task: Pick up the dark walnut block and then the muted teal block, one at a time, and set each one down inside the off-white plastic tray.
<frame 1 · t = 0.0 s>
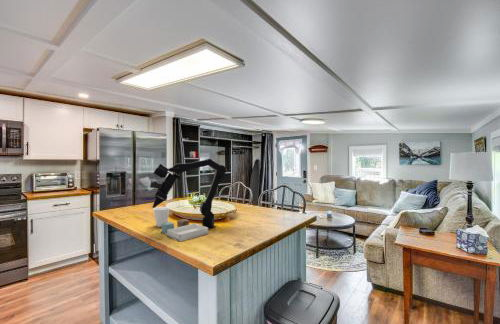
hand: (153, 206, 144), 15 cm above the worktop, tool tilted 35°, fingers open, 9 cm apart
cup: (161, 226, 157), on the worktop
tray: (187, 234, 139), on the worktop
teal block: (167, 232, 144), on the worktop
walnut block: (183, 228, 151), on the worktop
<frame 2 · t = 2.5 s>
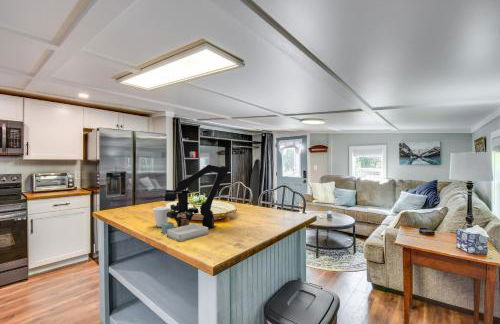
hand: (183, 226, 151), 1 cm above the worktop, tool pointing down, fingers closed on walnut block, 5 cm apart
walnut block: (183, 228, 151), on the worktop, touching gripper
everything else where it was.
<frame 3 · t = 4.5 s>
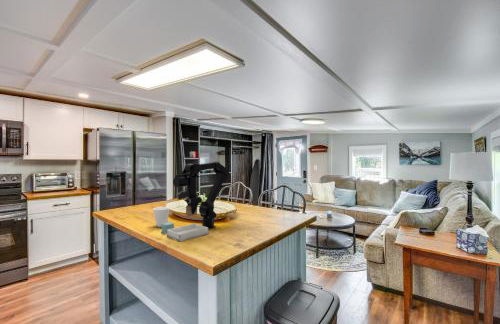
hand: (191, 212, 144), 11 cm above the worktop, tool pointing down, fingers closed on walnut block, 5 cm apart
walnut block: (191, 214, 144), point 10 cm above the worktop, touching gripper
everything else where it was.
when the fingers open (4 cm above the worktop, at t = 6.3 s): walnut block drops 2 cm, resting on tray.
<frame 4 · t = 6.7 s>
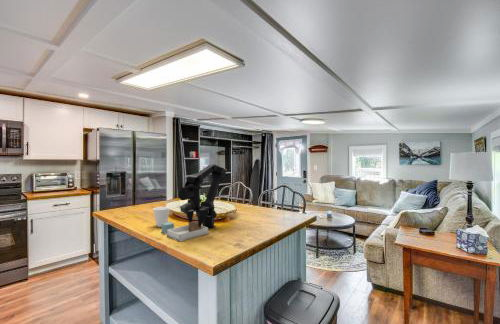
hand: (194, 225, 142), 4 cm above the worktop, tool pointing down, fingers open, 9 cm apart
walnut block: (194, 231, 142), point 1 cm above the worktop, touching tray
everything else where it was.
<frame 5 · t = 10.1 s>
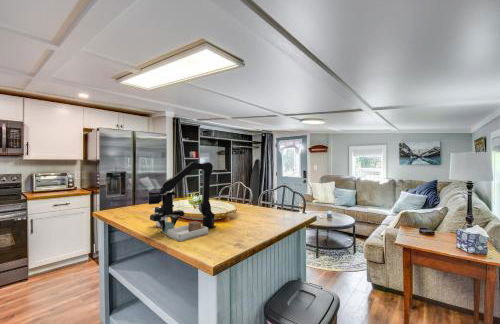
hand: (167, 230, 144), 1 cm above the worktop, tool pointing down, fingers closed on teal block, 5 cm apart
teal block: (167, 232, 144), on the worktop, touching gripper
everything else where it was.
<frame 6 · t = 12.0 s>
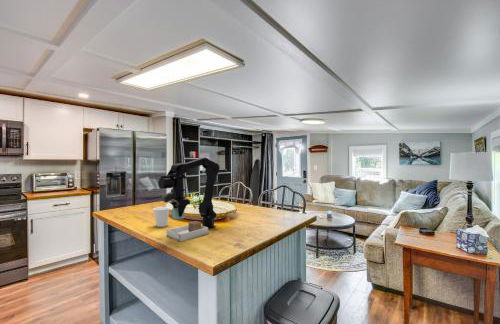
hand: (178, 215, 137), 11 cm above the worktop, tool pointing down, fingers closed on teal block, 5 cm apart
teal block: (178, 217, 137), point 10 cm above the worktop, touching gripper
everything else where it was.
when the fingers open (4 cm above the worktop, at t = 13.8 s): teal block drops 2 cm, resting on tray.
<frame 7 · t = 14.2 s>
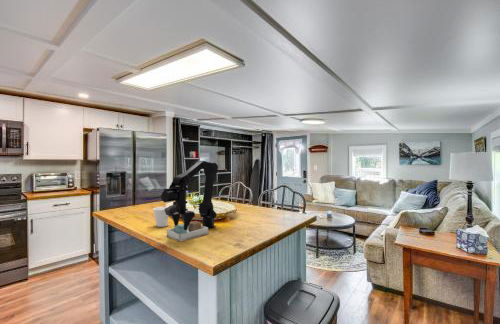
hand: (180, 228, 135), 4 cm above the worktop, tool pointing down, fingers open, 9 cm apart
teal block: (180, 234, 136), point 1 cm above the worktop, touching tray
everything else where it was.
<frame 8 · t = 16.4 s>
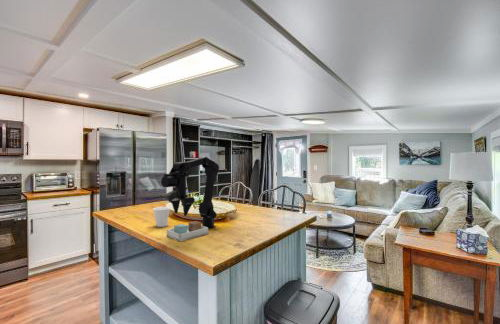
hand: (180, 214, 135), 12 cm above the worktop, tool pointing down, fingers open, 9 cm apart
nothing on the worktop moved.
at the end: walnut block inside the target area on the tray (4.5 cm from its centre), point 1.0 cm above the tray's base; teal block inside the target area on the tray (4.5 cm from its centre), point 1.0 cm above the tray's base; cup moved 0.2 cm from its start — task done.
